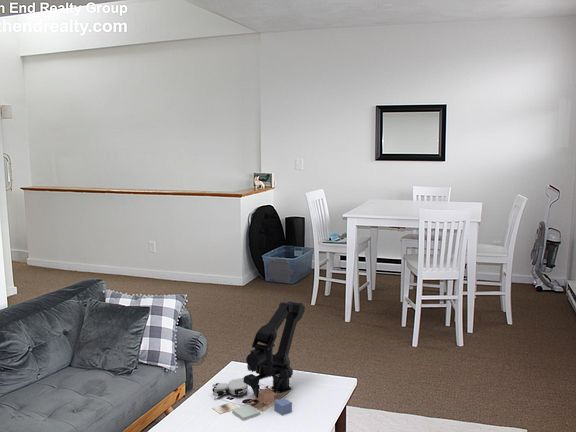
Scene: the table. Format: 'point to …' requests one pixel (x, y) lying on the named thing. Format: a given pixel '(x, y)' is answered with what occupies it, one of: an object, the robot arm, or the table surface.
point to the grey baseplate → (246, 412)
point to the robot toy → (230, 387)
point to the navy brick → (283, 406)
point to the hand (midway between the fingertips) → (265, 395)
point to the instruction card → (225, 408)
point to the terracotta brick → (266, 396)
